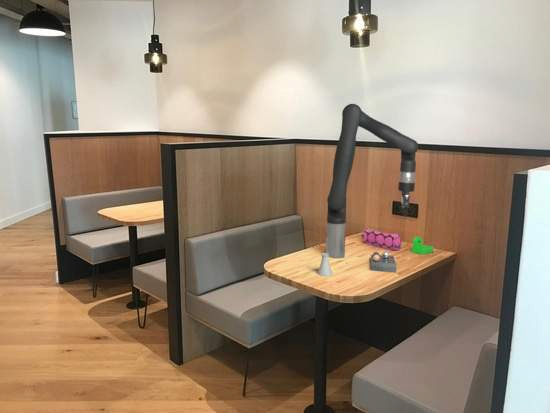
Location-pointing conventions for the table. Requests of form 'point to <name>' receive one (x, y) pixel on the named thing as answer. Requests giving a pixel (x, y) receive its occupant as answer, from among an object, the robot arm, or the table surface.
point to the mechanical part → (420, 247)
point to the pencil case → (382, 239)
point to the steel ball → (385, 254)
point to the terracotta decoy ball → (376, 258)
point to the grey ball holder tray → (383, 264)
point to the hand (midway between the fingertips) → (404, 214)
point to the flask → (325, 266)
